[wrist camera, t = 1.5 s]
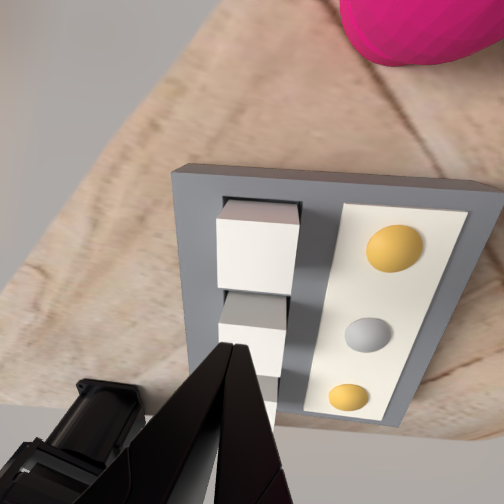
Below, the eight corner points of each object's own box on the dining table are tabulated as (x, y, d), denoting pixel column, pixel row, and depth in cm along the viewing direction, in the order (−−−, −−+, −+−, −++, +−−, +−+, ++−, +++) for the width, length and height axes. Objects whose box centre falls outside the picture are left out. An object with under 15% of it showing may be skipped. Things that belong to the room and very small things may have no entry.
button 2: (228, 389, 23) (220, 429, 20) (228, 357, 21) (219, 395, 18) (274, 395, 22) (272, 436, 19) (278, 362, 21) (277, 402, 18)
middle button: (228, 333, 20) (219, 370, 17) (228, 290, 18) (218, 323, 15) (280, 339, 19) (280, 377, 17) (285, 296, 18) (286, 330, 15)
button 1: (228, 258, 17) (217, 287, 14) (229, 199, 15) (216, 218, 12) (289, 264, 17) (290, 294, 14) (296, 204, 15) (299, 224, 12)
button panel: (201, 371, 26) (190, 405, 23) (188, 163, 17) (167, 173, 14) (386, 393, 24) (401, 433, 21) (471, 180, 16) (517, 196, 13)
